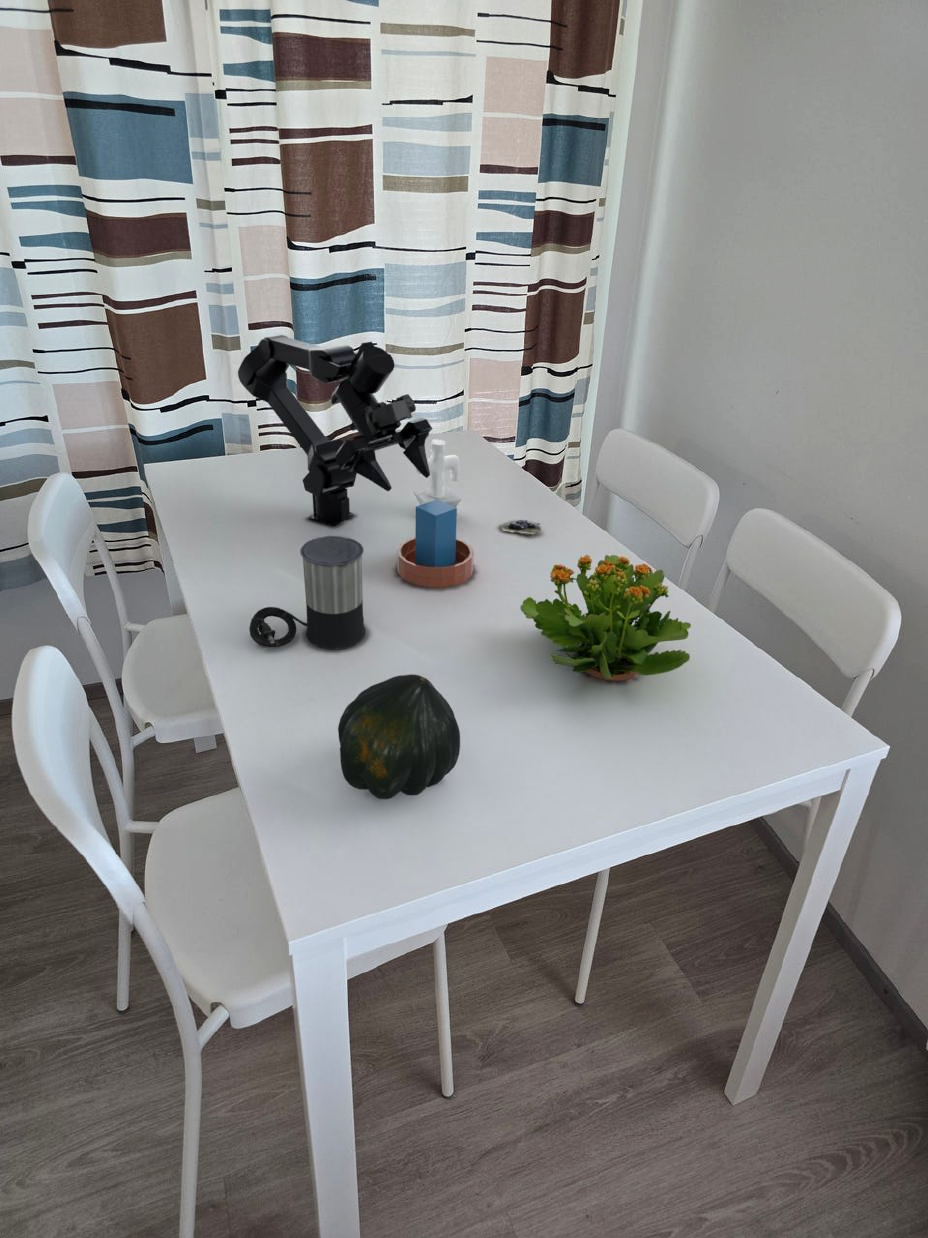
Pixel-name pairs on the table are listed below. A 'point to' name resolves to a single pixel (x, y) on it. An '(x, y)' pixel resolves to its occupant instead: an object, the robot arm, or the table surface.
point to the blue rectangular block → (435, 534)
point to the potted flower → (610, 620)
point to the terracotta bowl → (435, 575)
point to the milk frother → (323, 597)
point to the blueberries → (522, 527)
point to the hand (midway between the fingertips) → (409, 483)
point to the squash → (398, 737)
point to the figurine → (440, 475)
